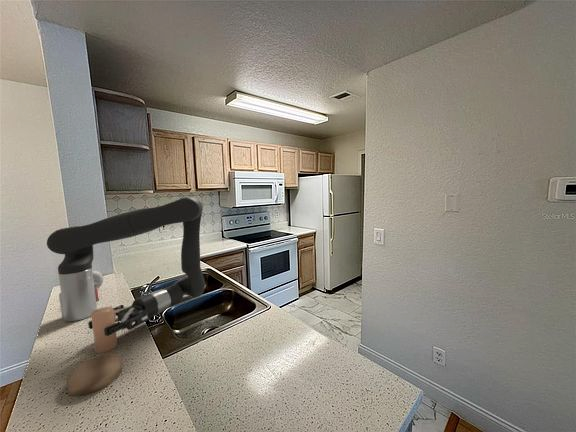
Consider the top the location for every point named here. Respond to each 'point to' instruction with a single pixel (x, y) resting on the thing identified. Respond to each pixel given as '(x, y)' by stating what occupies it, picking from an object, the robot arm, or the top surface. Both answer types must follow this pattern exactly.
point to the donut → (98, 278)
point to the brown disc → (94, 375)
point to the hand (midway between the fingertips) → (96, 329)
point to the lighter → (96, 290)
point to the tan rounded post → (99, 323)
